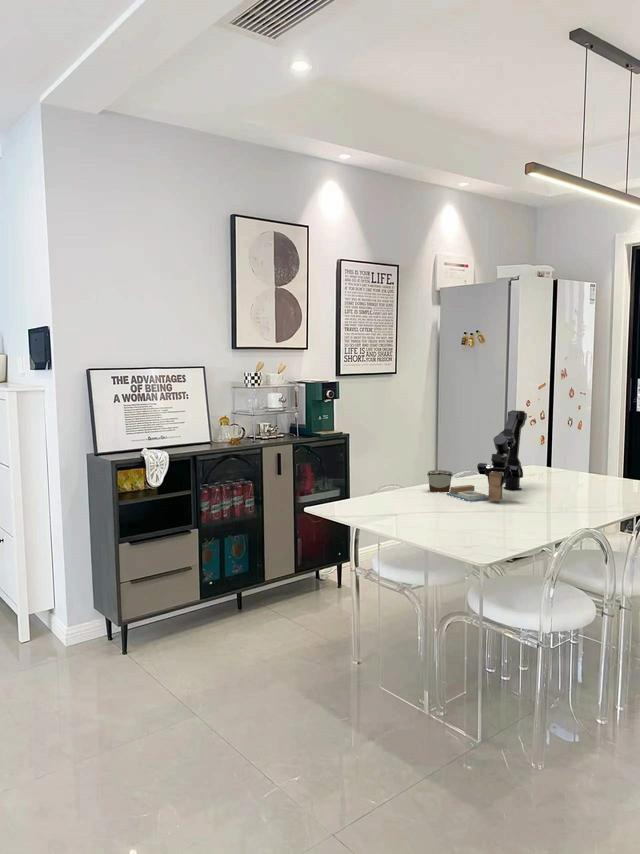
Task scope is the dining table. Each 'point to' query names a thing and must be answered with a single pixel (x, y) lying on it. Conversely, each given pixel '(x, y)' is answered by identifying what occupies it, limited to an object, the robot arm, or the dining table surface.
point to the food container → (439, 480)
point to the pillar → (495, 486)
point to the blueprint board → (466, 493)
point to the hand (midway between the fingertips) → (494, 485)
